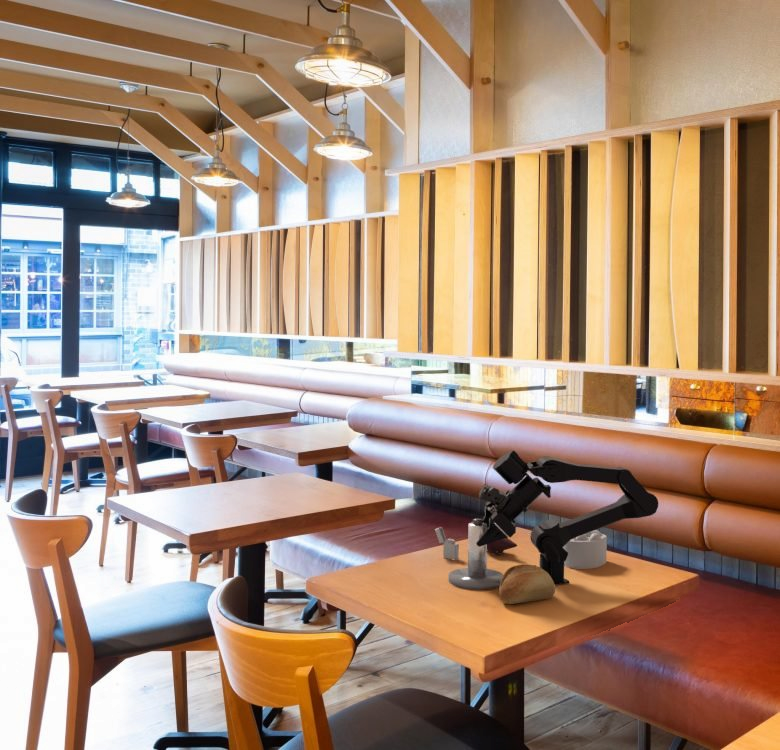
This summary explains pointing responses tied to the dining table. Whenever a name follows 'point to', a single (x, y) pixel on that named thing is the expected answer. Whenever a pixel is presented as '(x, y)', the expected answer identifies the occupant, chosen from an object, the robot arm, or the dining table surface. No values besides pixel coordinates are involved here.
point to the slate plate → (463, 581)
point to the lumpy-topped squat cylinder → (586, 551)
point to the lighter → (448, 545)
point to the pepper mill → (476, 550)
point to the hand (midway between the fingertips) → (476, 540)
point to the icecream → (500, 546)
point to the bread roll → (525, 584)
